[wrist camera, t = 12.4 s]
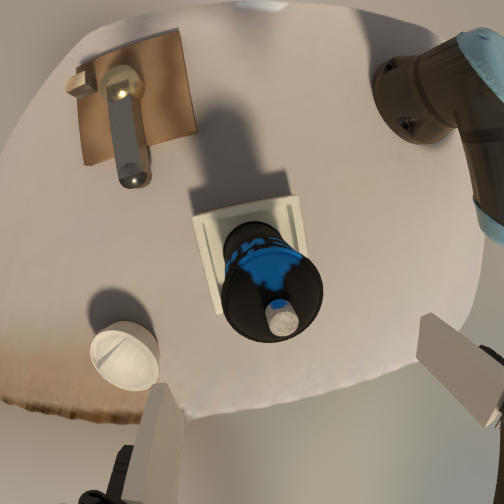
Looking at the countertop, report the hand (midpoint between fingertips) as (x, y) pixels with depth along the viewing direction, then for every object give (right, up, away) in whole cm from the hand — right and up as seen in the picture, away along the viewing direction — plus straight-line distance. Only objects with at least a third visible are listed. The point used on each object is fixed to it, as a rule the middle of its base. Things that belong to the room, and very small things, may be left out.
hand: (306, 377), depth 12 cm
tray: (-2, +6, +26) cm, 27 cm away
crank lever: (-18, +22, +18) cm, 33 cm away
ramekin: (-22, -9, +28) cm, 37 cm away
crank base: (-19, +27, +19) cm, 38 cm away
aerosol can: (-2, +6, +25) cm, 26 cm away
